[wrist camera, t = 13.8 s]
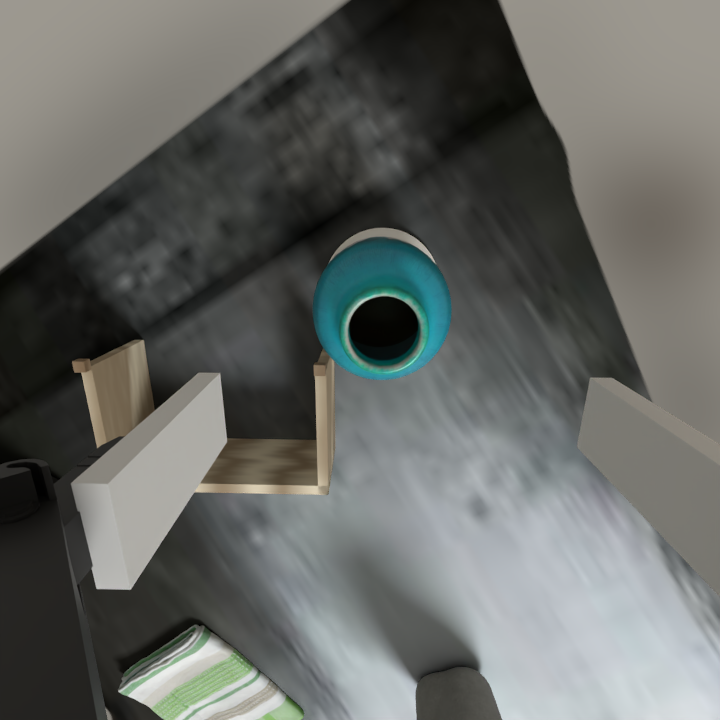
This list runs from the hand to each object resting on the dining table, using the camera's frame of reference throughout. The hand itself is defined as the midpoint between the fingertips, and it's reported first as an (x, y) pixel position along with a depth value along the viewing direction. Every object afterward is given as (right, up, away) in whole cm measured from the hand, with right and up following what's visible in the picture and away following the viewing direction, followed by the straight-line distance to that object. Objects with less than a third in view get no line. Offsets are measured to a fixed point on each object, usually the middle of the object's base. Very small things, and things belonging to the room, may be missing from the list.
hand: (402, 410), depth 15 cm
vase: (0, +9, +28) cm, 29 cm away
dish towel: (-23, -48, +48) cm, 72 cm away
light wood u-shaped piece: (-15, -2, +32) cm, 36 cm away
